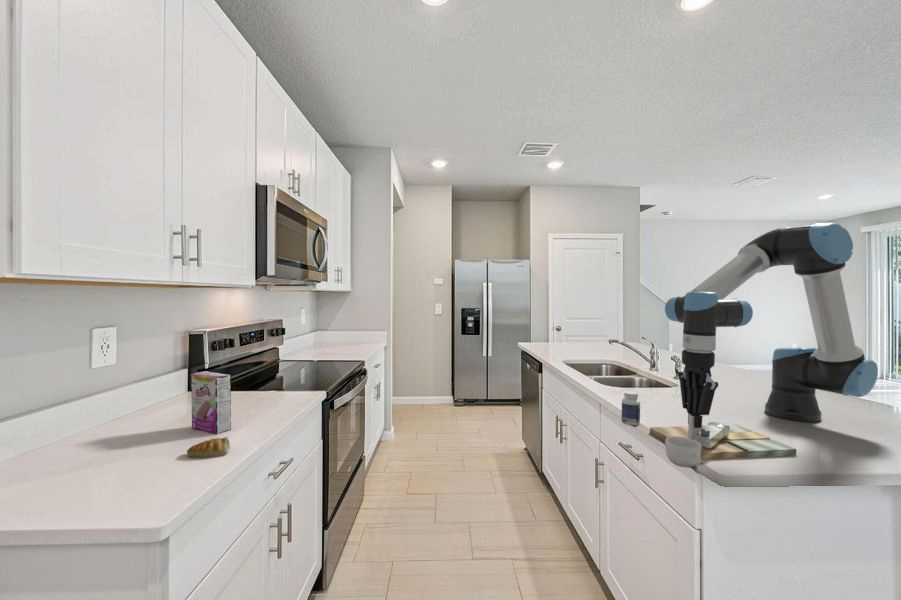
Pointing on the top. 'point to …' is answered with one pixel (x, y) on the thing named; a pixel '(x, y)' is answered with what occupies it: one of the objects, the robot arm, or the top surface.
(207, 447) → the pastry
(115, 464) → the top surface
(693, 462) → the teacup
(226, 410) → the candy bar box
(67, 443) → the top surface
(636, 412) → the pill bottle
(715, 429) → the latch arm
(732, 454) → the door board
